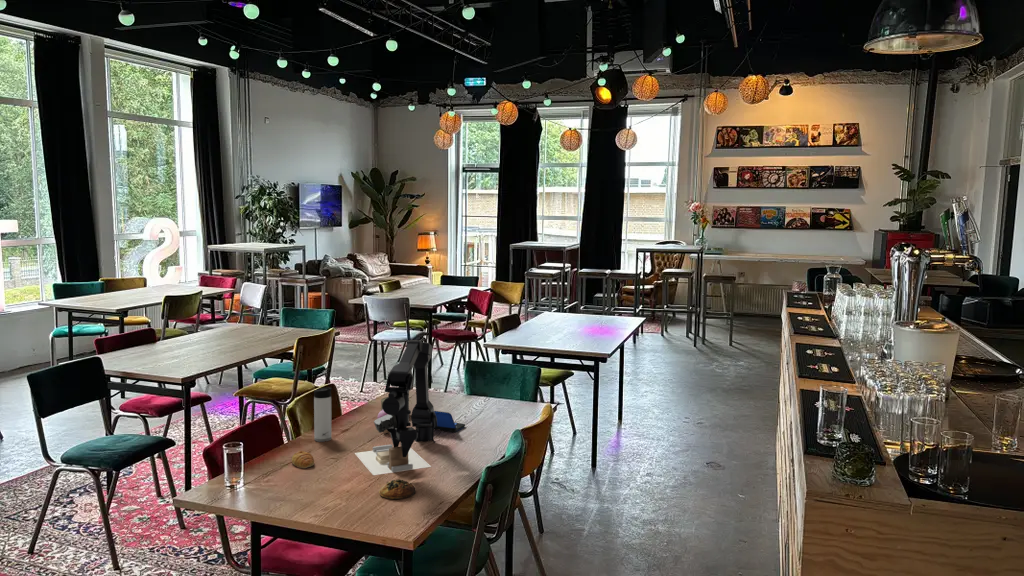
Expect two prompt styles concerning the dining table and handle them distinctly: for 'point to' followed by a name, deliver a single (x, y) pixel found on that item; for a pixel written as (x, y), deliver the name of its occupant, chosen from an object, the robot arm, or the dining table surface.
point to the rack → (377, 468)
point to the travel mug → (322, 414)
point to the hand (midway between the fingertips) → (400, 452)
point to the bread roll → (397, 489)
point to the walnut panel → (396, 457)
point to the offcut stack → (382, 457)
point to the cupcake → (382, 416)
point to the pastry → (303, 459)
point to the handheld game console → (447, 422)
